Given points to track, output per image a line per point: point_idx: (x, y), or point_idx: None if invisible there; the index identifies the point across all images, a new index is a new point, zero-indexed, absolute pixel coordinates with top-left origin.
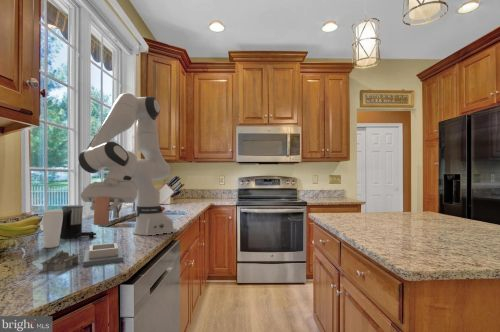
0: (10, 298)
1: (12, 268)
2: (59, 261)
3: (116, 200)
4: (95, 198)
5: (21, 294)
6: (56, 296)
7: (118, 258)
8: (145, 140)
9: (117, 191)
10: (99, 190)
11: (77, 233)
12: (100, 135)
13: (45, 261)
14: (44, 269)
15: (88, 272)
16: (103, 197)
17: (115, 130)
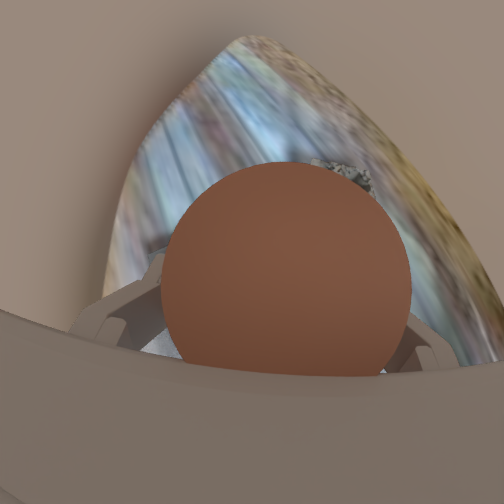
0: (298, 62)
1: (433, 208)
2: (316, 161)
3: (92, 318)
4: (361, 203)
5: (292, 70)
6: (224, 62)
7: (161, 248)
8: None
9: (43, 454)
10: (473, 485)
11: None
12: None
13: (370, 191)
14: (351, 178)
15: (221, 161)
16: (230, 177)
17: None
